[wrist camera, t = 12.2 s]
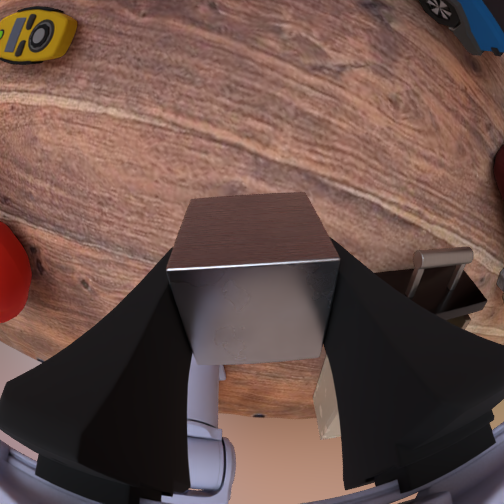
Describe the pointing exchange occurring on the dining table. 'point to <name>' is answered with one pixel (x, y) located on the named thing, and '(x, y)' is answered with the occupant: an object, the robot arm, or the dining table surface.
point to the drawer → (440, 284)
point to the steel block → (253, 278)
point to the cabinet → (326, 404)
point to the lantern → (501, 282)
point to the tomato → (12, 275)
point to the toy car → (471, 22)
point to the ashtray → (499, 170)
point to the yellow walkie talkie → (35, 35)
